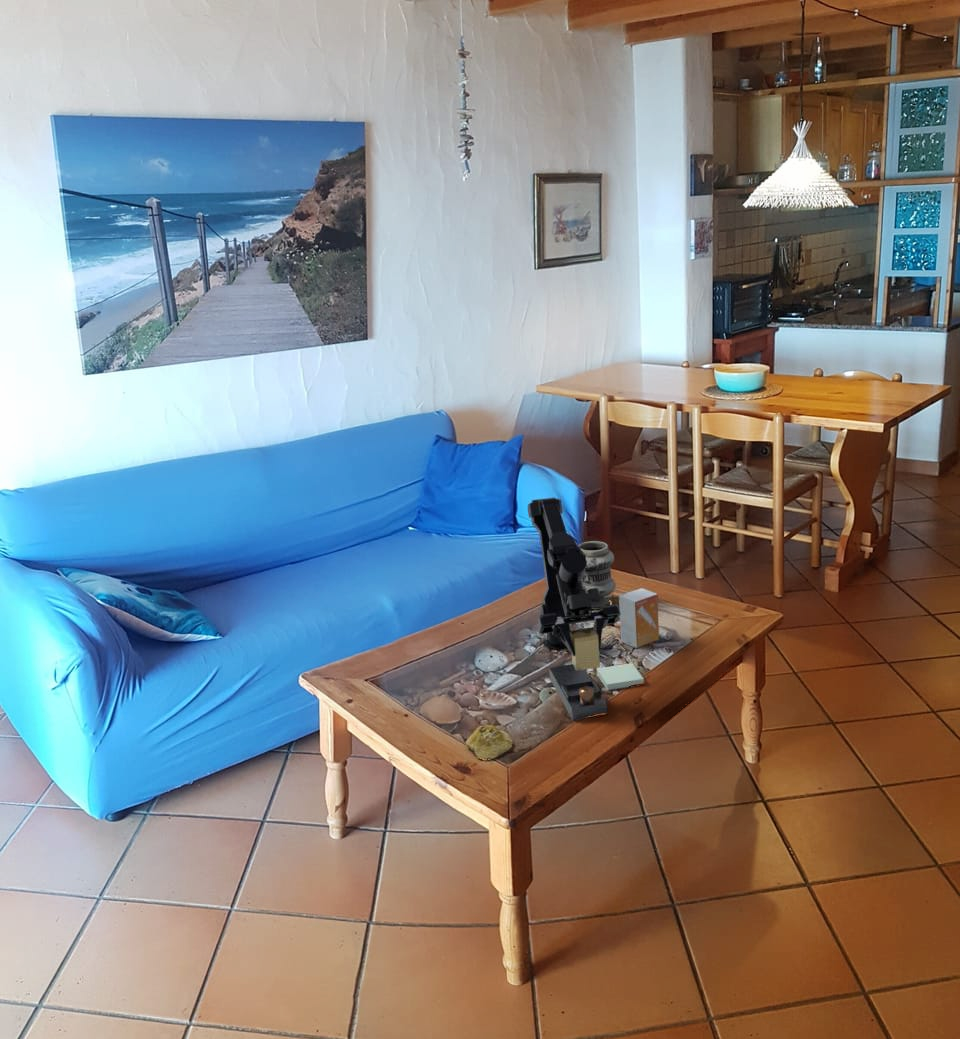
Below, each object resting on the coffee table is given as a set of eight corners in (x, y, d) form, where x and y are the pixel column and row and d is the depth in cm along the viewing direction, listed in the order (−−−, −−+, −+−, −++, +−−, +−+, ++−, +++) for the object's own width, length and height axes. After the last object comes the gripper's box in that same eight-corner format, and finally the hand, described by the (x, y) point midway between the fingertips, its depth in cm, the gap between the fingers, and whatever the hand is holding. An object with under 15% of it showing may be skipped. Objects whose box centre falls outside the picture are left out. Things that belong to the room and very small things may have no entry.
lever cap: (571, 662, 224) (569, 630, 222) (594, 658, 225) (592, 627, 222) (576, 670, 220) (574, 638, 217) (599, 667, 220) (598, 635, 218)
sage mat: (596, 674, 236) (596, 668, 236) (632, 668, 237) (632, 663, 237) (607, 690, 228) (607, 684, 227) (644, 684, 229) (643, 678, 228)
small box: (636, 649, 248) (634, 601, 244) (620, 641, 253) (618, 595, 250) (660, 639, 252) (658, 593, 249) (643, 632, 257) (641, 587, 254)
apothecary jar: (600, 614, 272) (597, 554, 267) (566, 607, 280) (562, 548, 275) (624, 600, 280) (621, 542, 275) (591, 593, 288) (587, 536, 283)
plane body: (549, 678, 236) (548, 656, 234) (581, 673, 237) (580, 651, 235) (572, 720, 215) (571, 696, 213) (607, 714, 216) (605, 690, 215)
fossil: (512, 729, 202) (465, 735, 201) (516, 756, 202) (469, 763, 202) (507, 716, 213) (462, 723, 212) (510, 742, 213) (466, 749, 213)
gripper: (536, 582, 219) (550, 646, 211) (616, 571, 221) (632, 634, 214) (532, 602, 228) (545, 664, 221) (608, 591, 231) (623, 652, 223)
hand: (586, 653), depth 220 cm, fingers closed on lever cap, 5 cm apart
